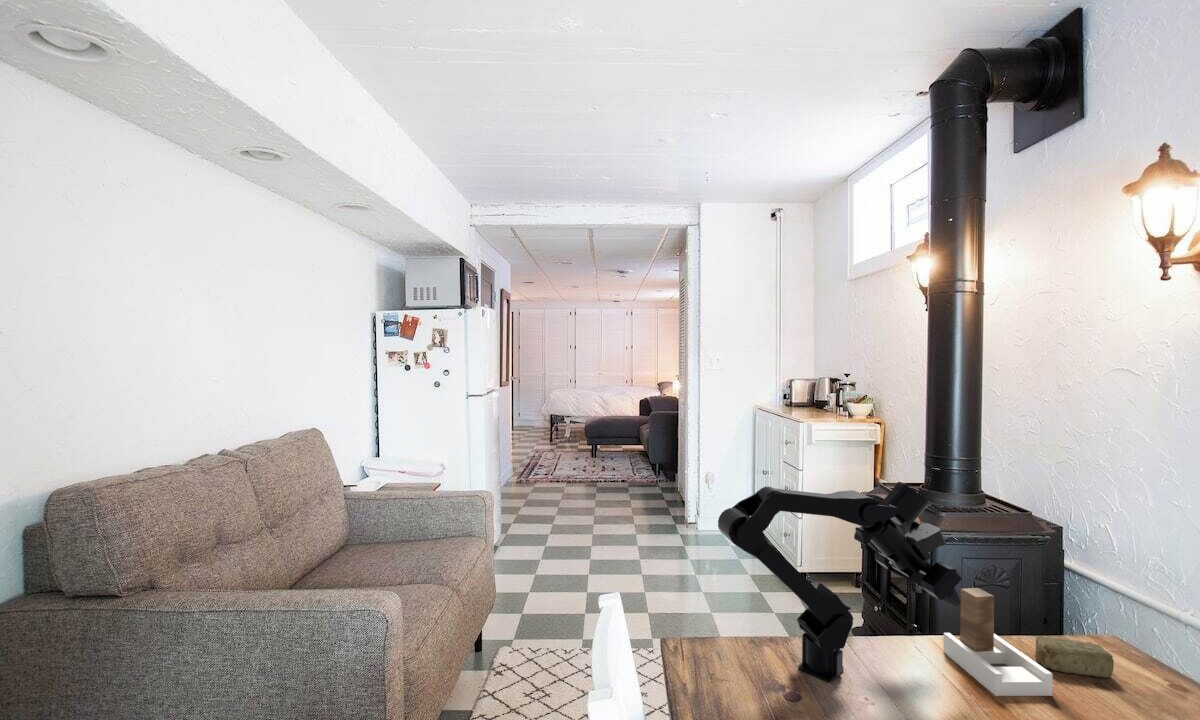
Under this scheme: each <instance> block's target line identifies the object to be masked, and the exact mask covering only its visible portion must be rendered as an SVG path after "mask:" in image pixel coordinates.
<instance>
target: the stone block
mask: <svg viewBox="0 0 1200 720" xmlns="http://www.w3.org/2000/svg"><path fill="white" fill-rule="evenodd" d="M1034 653H1035V654H1034V658H1035V660H1036V661H1037V662H1038V664H1039V665H1042V667H1043V668H1045V669H1049V670H1052V671H1055V672H1061V673H1066V674H1067V673H1069V674H1073V675H1074V674H1075V675H1080V676H1081V675H1083V676H1090V677H1097V678H1111V677H1112V676H1113V671H1114V668H1115V667H1114V666H1115V665H1114V662H1115V661H1114V659H1113V655H1112V654H1111V653H1110V652H1108V650H1106V649H1104V647H1102V646H1101V645H1100V644H1097V643H1092V642H1090V641H1089V642H1088V641H1081V640H1077V639H1076V640H1075V639H1067V638H1059V637H1052V636H1051V637H1050V636H1042V635H1038V636H1036V637H1035V652H1034Z"/></svg>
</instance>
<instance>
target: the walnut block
mask: <svg viewBox="0 0 1200 720" xmlns="http://www.w3.org/2000/svg"><path fill="white" fill-rule="evenodd" d="M960 601H961V603H960V610H959V611H960V612H959V613H960V614H959V617H960V620H959V621H960V623H959V626H960V627H959V628H960V629H959V631H960V632H959V640H960V641H961V642H962V643H963V644H964V645H966V646H967V647H969V648H970V649H972V650H973V651H975V652H982V651H994V634H995V632H994V631H995V595H993V594H992V593H988V592H987V591H985V590H984V589H981V588H979V587H968V588H960Z"/></svg>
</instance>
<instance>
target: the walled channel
mask: <svg viewBox="0 0 1200 720" xmlns="http://www.w3.org/2000/svg"><path fill="white" fill-rule="evenodd" d="M942 644H943V648H942V649H943V650H942V651H943V653H944V654H945V655H947V656H948V657H949V658H950V659H951V660H952V661H953V662H955V663H956V664H957V665H958V666H960V668H961V669H963V670H964V671H965V672H967V673H968V674H969V675H970V676H972V678H973V679H975V680H976V681H977V682H979V684H981V685H982V686H983V687H985V689H986V690H988V691H989V692H990V693H992V694H993V696H995V697H1012V696H1013V697H1031V696H1032V697H1034V696H1035V697H1036V696H1037V697H1041V696H1042V697H1043V696H1044V697H1048V696H1050V697H1051V696H1053V672H1051V671H1049V670H1048V669H1047V668H1046V667H1044V666H1043V665H1042V664H1040V663H1039V662H1038V663H1037V662H1036V661H1035V660H1033V659H1032V658H1030V657H1029V656H1028V655H1027V654H1024V653H1023V652H1022V651H1021V650H1018V649H1017V648H1016V647H1014V646H1013V645H1011V644H1010V643H1009V642H1007V641H1006V640H1005V639H1003V638H1001V637H1000V636H998V635H997V634H996V633H994V651H982V652H975V651H973V650H972V649H970V648H969V647H967V646H966V645H964V644H963V643H962V642H961V641H960V639H959V638H957V637H956V636H954V635H953V634H952V633H951V632H943V643H942Z"/></svg>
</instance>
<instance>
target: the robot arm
mask: <svg viewBox="0 0 1200 720" xmlns="http://www.w3.org/2000/svg"><path fill="white" fill-rule="evenodd" d="M929 505H930V503H929V500H928V499H927V498H926V497H925V496H924V495H922V494H920V493H919V492H918V491H916V490H915V489H914V488H912V487H910V486H909V485H908V484H907V483H905V482H901V481H898V482H897V483H896V484H895V485H894V487H893V488H892V489H891V491H890V492H889V493H888V494H887V495H886V496H885V498H884V499H882V500H881V499H879V498H877V497H871V496H868V495H866V494H864V493H861V492H859V491H856V490H840V491H835V492H831V493H819V492H809V491H802V490H792V489H782V488H774V487H771V486H763V487H762V488H760V489H759V490H757V491H756V492H755V493H754V494H752V495H749V496H747V497H746V498H744V499H742V500H740V501H738V502H737V503H736V504H735V505H733V506H732V507H729V508H726V509H724V510H722V512H721V514H720V515H719V517H718V520H717V528H718V530H719V531H720V532H721V534H723V536H724V537H726V538H727V539H728V540H729V541H730V542H731V543H733V544H734V545H735V547H737V548H739V549H741V550H742V551H744V552H746V553H747V554H749V555H751V556H752V557H754V558H756V559H757V560H758V561H759V562H760V563H761V564H763V566H765V567H766V568H767V569H768V571H770V572H771V573H772V574H773V575H774V576H775V577H776V578H778V580H779V581H781V582H782V584H783V585H785V586H786V587H787V588H788V589H789V590H790V591H791V592H792V593H793V594H794V596H796V597H797V598H798V599H799V600H800V603H801V604H802V606H803V608H804V609H805V610H804V611H803V612H802V613H800V615H799V616H798V617H797V618H796V621H797V625H798V627H799V629H800V630H802V631H803V632H804V633H803V634H802V635H801V637H802V638H801V640H802V643H801V646H802V647H801V649H802V650H801V662H800V663H799V664H798V665H797V669H798V670H800V671H803V672H805V673H807V674H810V675H811V676H813V677H816V678H819V679H821V680H824V681H826V682H827V683H829V682H832V681H833V680H834V679H835V678H836V677H838V676H839V675H840V674H841V673H842V672H843V671H844V669H845V668H844V666H843V664H844V663H843V662H844V659H843V657H844V656H843V655H844V654H843V650H842V649H844V648H845V647H846V644H847V643H846V642H847V640H848V637H849V635H850V632H851V630H852V628H853V625H854V616H853V614H852V613H851V611H849V610H851V607H850V606H849V605H848V604H846V603H845V602H844V601H843V600H842V599H840V597H839V596H838V595H837V594H836V593H835V592H834V591H833V590H831V589H830V588H828V587H827V586H826V585H825V584H823V583H822V582H819V583H818V585H817V587H816V586H815V585H813V584H812V583H811V582H810V581H809V580H808V579H807V578H806V577H805V576H804V575H803V574H801V572H800V571H798V570H797V568H795V567H794V565H792V563H790V562H789V561H787V558H785V557H784V556H783V555H782V554H781V553H779V551H777V549H775V547H773V546H772V545H771V544H770V542H769V540H768V538H767V536H766V535H765V533H764V531H765V530H766V529H768V527H769V526H770V524H771V522H772V521H773V520H774V518H775V516H776V515H777V514H779V513H780V512H783V513H784V512H787V513H794V514H795V513H796V514H805V515H815V516H824V517H833V518H836V519H839V520H842V521H846V523H847V522H848V523H851V524H854V525H857V526H859V527H855V528H854V530H855V532H854V535H853V539H854V540H855V541H857V542H859V543H860V544H862V545H864V546H867V545H868V544H869V543H870V542H871V543H872V544H873V545H874V546H875V547H876V548H877V550H876V551H875V552H874V560H875V561H876V562H877V563H878V564H879V565H880V566H882V567H883V568H885V569H886V570H888V571H890V572H891V573H893V574H895V575H898V576H899V577H902V578H903V579H906V580H908V581H910V582H913V583H915V584H917V585H919V586H920V587H921V588H922V589H923V590H924V591H926V592H927V594H929V595H930V596H931V597H933V598H935V599H937V600H939V601H943V602H946V603H948V604H950V605H952V606H955V607H959V606H960V605H961V598H960V597H959V594H958V592H957V590H956V587H957V585H959V583H960V582H961V581H962V580H963V575H962V574H961V573H960V571H958V570H957V569H956V568H955V567H953V566H951V565H949V564H947V563H944V562H942V561H939V562H935V563H934V564H933V565H932V564H931V563H929V562H927V561H929V559H930V558H931V557H932V555H931V553H930V552H932V551H935V550H936V549H938V548H940V547H943V546H945V545H946V544H947V543H946V540H945V537H944V535H943V533H942V531H941V528H940V527H938V526H935V525H934V524H930V523H929V522H922V521H920V522H917V521H916V520H917V519H918V517H920V515H921V514H922V513H923V512H924V511H925V509H926V508H927V507H928V506H929ZM896 524H897V525H898V526H904V532H905V533H904V532H903V531H902V530H901V529H900V528H899V527H898V526H897V525H896Z"/></svg>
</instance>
